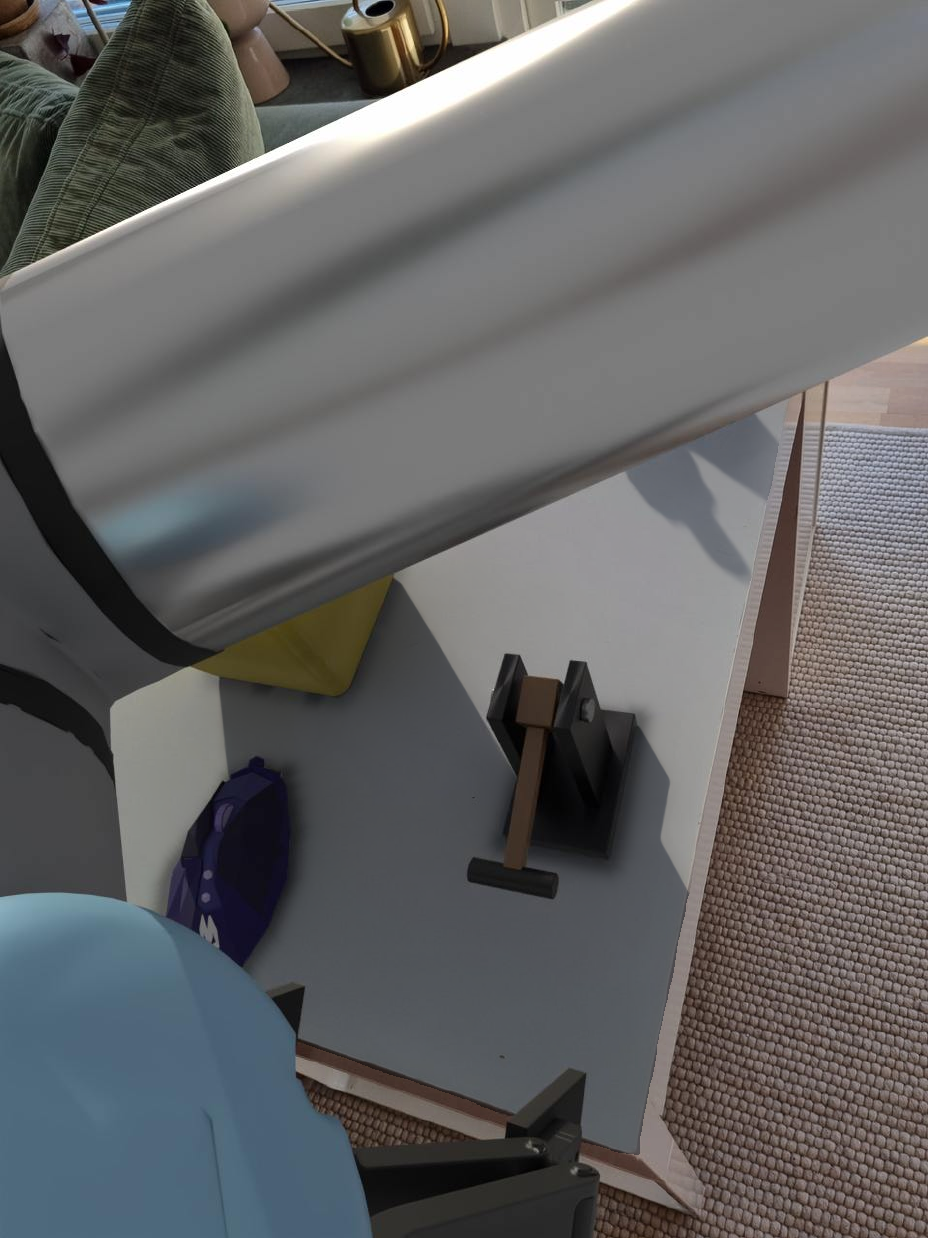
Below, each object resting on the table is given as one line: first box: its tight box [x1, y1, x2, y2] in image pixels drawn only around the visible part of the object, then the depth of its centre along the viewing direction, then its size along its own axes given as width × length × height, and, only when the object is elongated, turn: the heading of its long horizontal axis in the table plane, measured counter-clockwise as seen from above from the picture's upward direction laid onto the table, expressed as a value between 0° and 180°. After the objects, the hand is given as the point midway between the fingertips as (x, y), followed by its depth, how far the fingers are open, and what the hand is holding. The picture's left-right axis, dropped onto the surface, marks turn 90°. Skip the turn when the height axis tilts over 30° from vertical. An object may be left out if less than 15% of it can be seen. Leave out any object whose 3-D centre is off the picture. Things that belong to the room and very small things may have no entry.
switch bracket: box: [485, 652, 638, 860], centre depth 59 cm, size 10×7×13 cm
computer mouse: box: [165, 755, 292, 968], centre depth 66 cm, size 9×15×4 cm, turn 173°
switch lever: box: [466, 674, 564, 900], centre depth 54 cm, size 12×5×2 cm, turn 164°
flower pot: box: [189, 573, 396, 697], centre depth 71 cm, size 19×19×17 cm
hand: (424, 1056), depth 40 cm, fingers open, 13 cm apart
